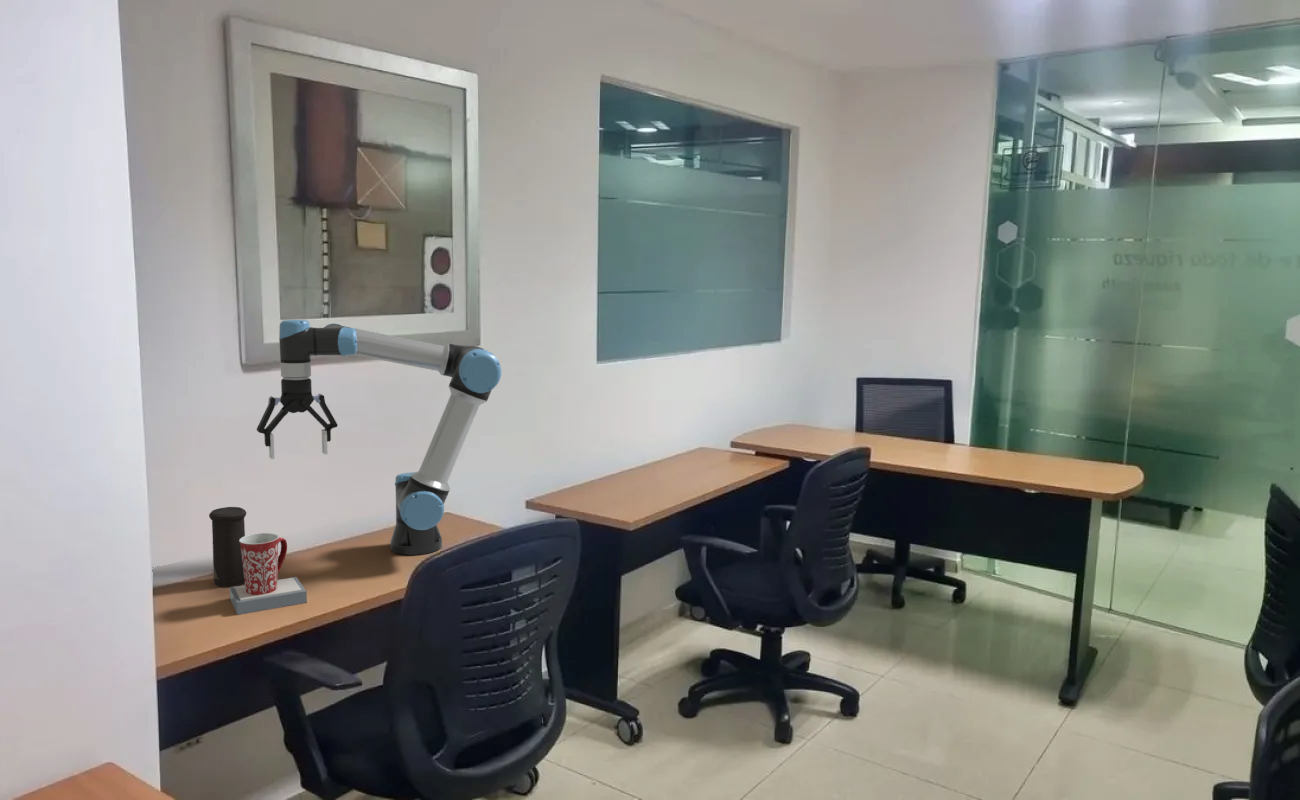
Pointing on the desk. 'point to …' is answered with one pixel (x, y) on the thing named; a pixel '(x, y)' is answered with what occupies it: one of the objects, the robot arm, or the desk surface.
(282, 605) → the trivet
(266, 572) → the mug
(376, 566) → the desk surface
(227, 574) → the container
